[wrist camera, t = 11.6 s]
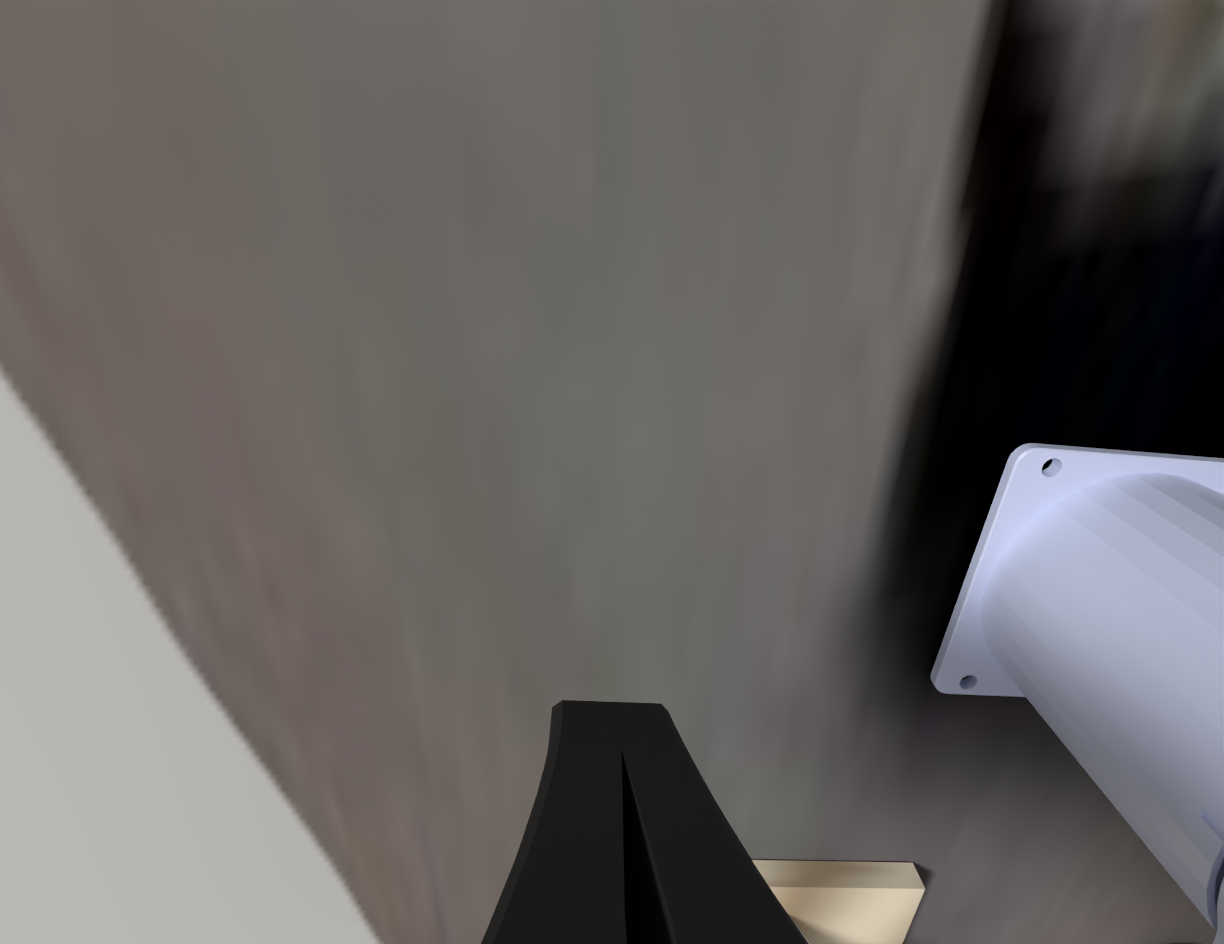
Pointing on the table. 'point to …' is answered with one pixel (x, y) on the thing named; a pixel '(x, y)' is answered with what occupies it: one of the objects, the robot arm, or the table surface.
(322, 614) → the table surface
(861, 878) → the beige square base
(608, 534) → the table surface
